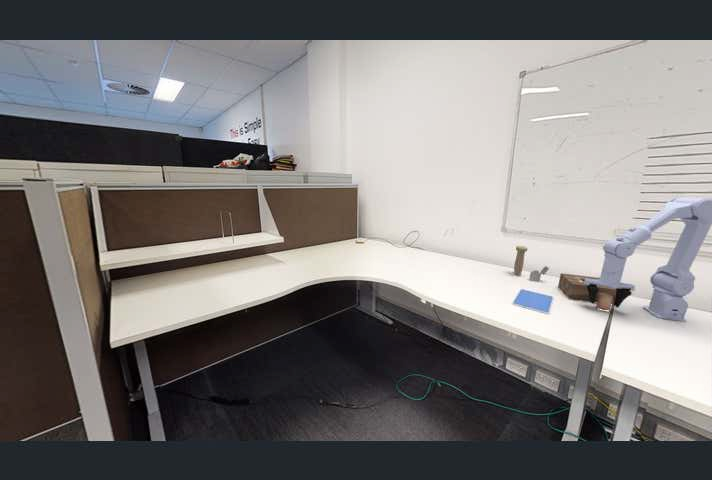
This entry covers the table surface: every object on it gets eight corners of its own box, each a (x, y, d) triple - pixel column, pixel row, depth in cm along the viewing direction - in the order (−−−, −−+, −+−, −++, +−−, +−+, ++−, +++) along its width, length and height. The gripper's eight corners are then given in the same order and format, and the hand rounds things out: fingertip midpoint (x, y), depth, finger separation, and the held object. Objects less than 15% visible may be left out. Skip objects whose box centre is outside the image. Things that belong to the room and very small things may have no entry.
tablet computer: (549, 316, 98) (549, 313, 98) (510, 305, 106) (511, 302, 106) (553, 299, 112) (554, 296, 112) (519, 291, 120) (520, 288, 120)
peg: (611, 312, 101) (615, 298, 100) (598, 310, 102) (602, 296, 101) (606, 307, 105) (610, 293, 103) (593, 306, 106) (597, 292, 105)
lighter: (530, 280, 132) (533, 265, 130) (529, 279, 134) (531, 264, 132) (546, 282, 130) (549, 267, 128) (545, 281, 132) (548, 266, 130)
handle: (520, 273, 142) (525, 246, 139) (523, 277, 136) (528, 249, 133) (510, 272, 144) (515, 245, 140) (513, 276, 138) (517, 248, 134)
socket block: (616, 305, 107) (621, 290, 105) (569, 298, 112) (572, 283, 111) (600, 292, 119) (603, 278, 118) (557, 286, 125) (560, 273, 123)
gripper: (593, 272, 99) (585, 305, 102) (643, 277, 94) (633, 312, 97) (585, 266, 105) (577, 297, 108) (632, 271, 100) (623, 304, 103)
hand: (603, 304), depth 103 cm, fingers open, 7 cm apart
